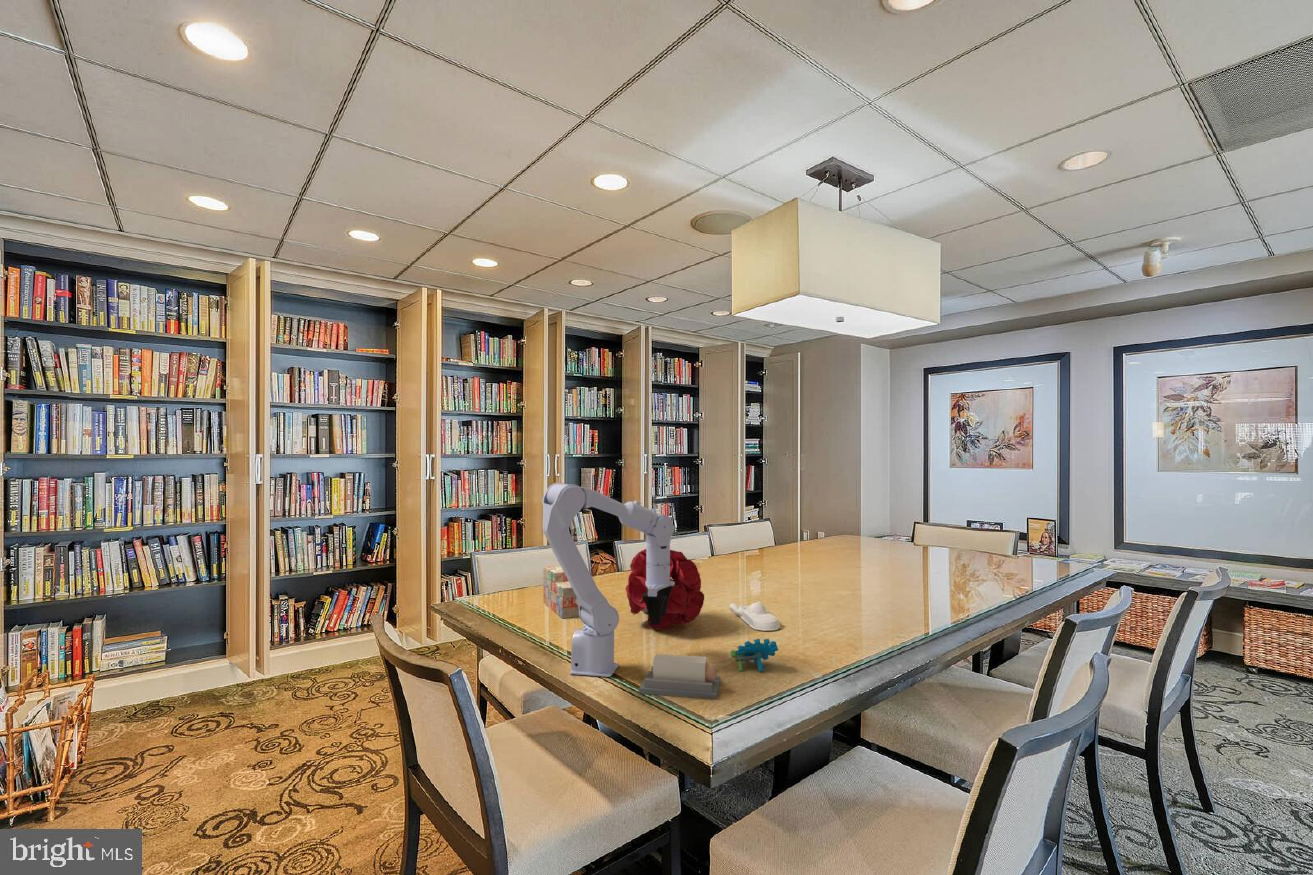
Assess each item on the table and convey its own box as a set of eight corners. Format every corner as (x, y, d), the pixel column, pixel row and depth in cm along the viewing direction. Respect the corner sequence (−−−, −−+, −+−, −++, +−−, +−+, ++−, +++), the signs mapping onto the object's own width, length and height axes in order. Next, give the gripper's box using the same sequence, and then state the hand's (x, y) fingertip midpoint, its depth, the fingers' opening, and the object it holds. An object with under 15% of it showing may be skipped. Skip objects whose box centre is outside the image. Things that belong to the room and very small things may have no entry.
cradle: (639, 693, 123) (639, 681, 123) (648, 675, 133) (648, 664, 133) (716, 699, 120) (716, 687, 120) (720, 681, 130) (720, 669, 130)
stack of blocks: (581, 617, 181) (582, 576, 181) (562, 619, 178) (562, 578, 179) (561, 601, 200) (561, 564, 201) (542, 603, 198) (543, 566, 198)
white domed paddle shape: (752, 634, 165) (752, 612, 165) (729, 614, 184) (729, 596, 185) (787, 631, 167) (787, 610, 167) (760, 613, 186) (760, 594, 187)
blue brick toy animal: (775, 653, 143) (777, 633, 136) (782, 677, 138) (784, 658, 132) (730, 660, 143) (729, 639, 136) (735, 684, 138) (734, 664, 132)
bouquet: (613, 642, 177) (639, 614, 153) (610, 566, 189) (634, 529, 165) (681, 641, 183) (717, 614, 159) (674, 567, 196) (706, 532, 171)
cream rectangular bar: (652, 683, 125) (653, 660, 126) (656, 676, 129) (656, 653, 129) (714, 688, 123) (714, 664, 123) (716, 681, 127) (716, 657, 127)
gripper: (669, 569, 136) (669, 629, 136) (678, 558, 151) (678, 612, 150) (639, 568, 138) (639, 627, 137) (651, 557, 152) (651, 611, 151)
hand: (657, 619), depth 144 cm, fingers open, 7 cm apart
